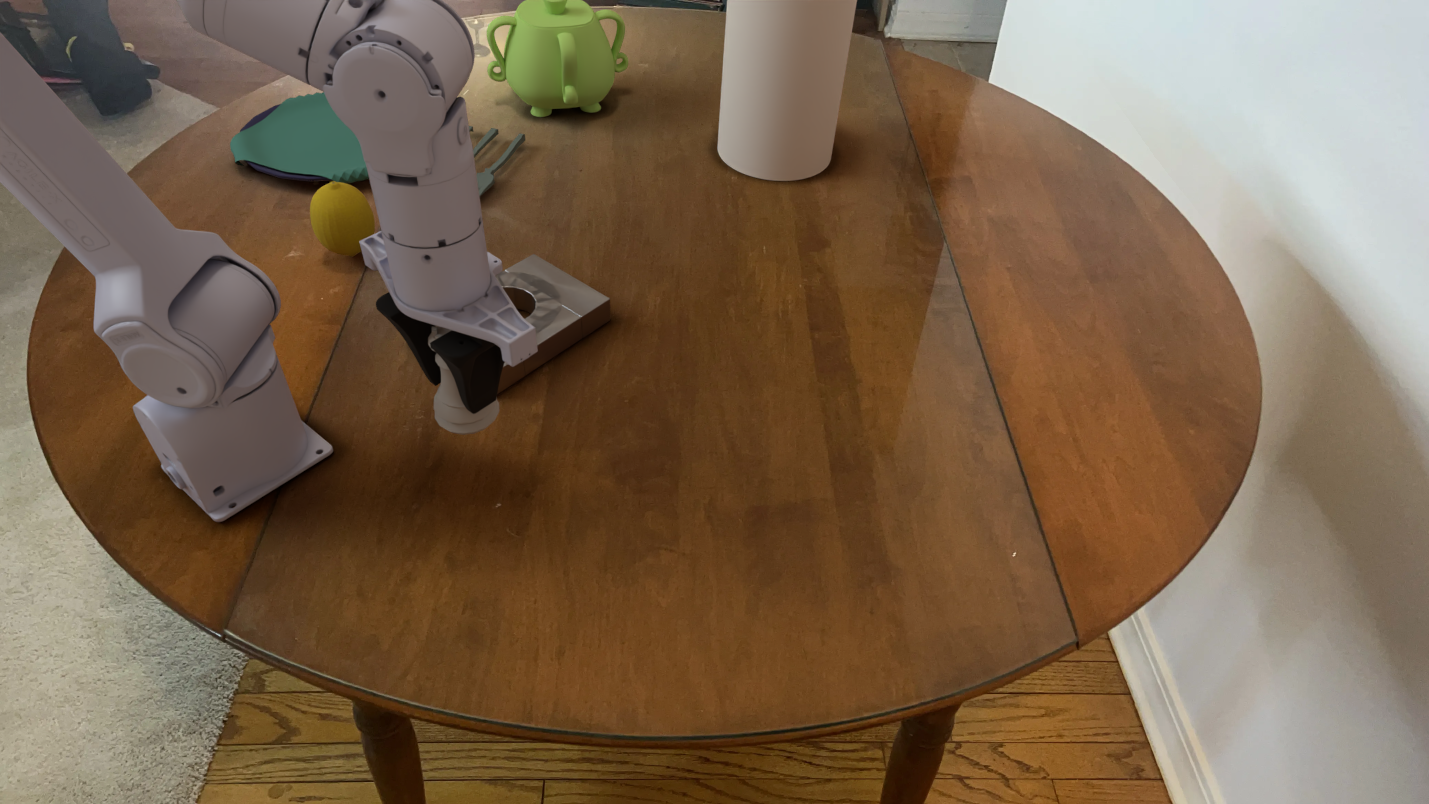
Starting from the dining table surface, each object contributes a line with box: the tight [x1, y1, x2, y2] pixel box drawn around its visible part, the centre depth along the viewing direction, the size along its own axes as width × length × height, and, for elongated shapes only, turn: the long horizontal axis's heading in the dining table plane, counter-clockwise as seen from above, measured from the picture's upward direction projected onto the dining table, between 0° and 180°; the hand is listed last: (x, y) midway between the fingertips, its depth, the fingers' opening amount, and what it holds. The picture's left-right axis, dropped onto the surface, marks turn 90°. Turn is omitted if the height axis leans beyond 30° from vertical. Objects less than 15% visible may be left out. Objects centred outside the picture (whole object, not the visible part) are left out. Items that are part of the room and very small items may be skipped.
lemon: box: [309, 180, 376, 258], centre depth 85 cm, size 6×6×8 cm
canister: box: [716, 0, 858, 182], centre depth 100 cm, size 14×14×20 cm
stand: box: [495, 253, 612, 395], centre depth 80 cm, size 14×11×2 cm
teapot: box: [486, 0, 629, 118], centre depth 109 cm, size 16×14×13 cm
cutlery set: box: [229, 91, 526, 198], centre depth 100 cm, size 20×30×2 cm, turn 75°
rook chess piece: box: [428, 325, 500, 436], centre depth 60 cm, size 4×4×8 cm
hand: (463, 390), depth 62 cm, fingers closed on rook chess piece, 3 cm apart
